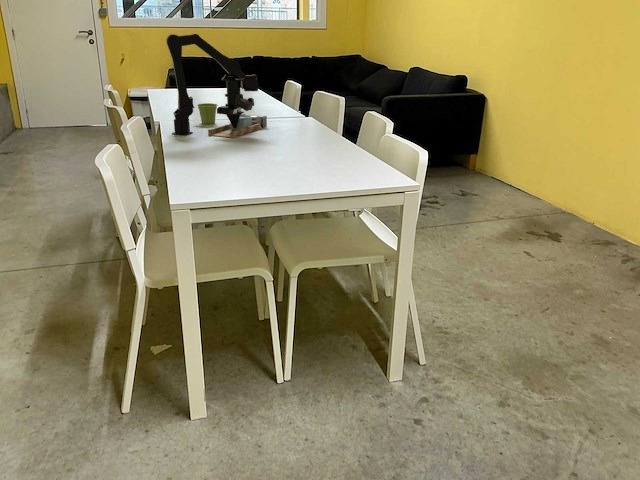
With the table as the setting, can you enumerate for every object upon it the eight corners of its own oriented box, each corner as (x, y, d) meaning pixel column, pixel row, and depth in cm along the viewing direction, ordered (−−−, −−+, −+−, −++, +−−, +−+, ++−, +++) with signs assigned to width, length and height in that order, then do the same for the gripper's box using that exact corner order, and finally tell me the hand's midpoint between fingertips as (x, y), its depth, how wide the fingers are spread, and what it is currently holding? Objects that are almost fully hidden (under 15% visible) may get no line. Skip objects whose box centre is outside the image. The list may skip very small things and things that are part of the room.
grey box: (244, 130, 233) (244, 119, 231) (230, 129, 235) (230, 117, 233) (252, 128, 239) (251, 117, 237) (238, 126, 241) (238, 115, 239)
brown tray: (232, 138, 220) (232, 130, 219) (208, 135, 224) (207, 127, 223) (260, 129, 241) (260, 121, 239) (237, 126, 245) (237, 119, 244)
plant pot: (214, 125, 245) (213, 106, 242) (195, 124, 247) (194, 105, 243) (221, 122, 254) (220, 103, 251) (202, 121, 255) (201, 102, 252)
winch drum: (262, 128, 242) (262, 117, 240) (239, 125, 246) (239, 114, 245) (267, 126, 246) (267, 116, 244) (244, 124, 250) (244, 113, 248)
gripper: (238, 95, 215) (239, 133, 221) (260, 90, 231) (261, 126, 237) (215, 93, 219) (217, 131, 225) (238, 89, 235) (239, 124, 241)
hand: (234, 128), depth 231 cm, fingers closed
